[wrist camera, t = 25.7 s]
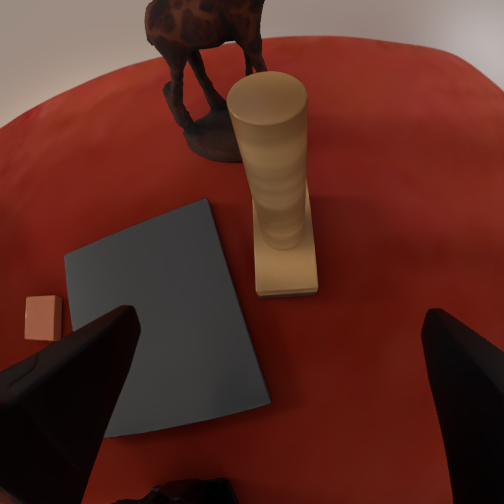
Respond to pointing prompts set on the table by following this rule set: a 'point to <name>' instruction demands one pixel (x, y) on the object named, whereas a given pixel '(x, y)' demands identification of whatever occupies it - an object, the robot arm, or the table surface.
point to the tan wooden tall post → (276, 180)
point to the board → (171, 320)
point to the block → (43, 318)
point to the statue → (187, 48)
